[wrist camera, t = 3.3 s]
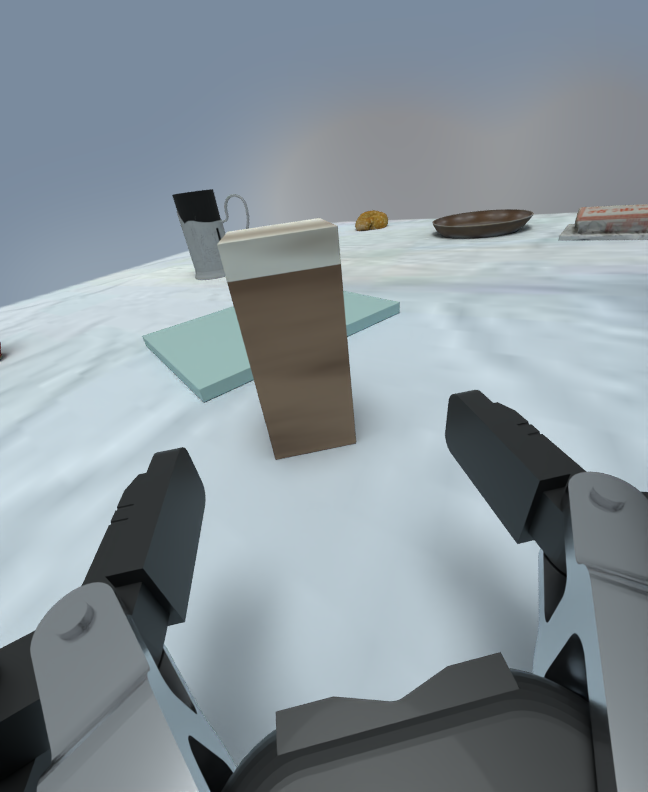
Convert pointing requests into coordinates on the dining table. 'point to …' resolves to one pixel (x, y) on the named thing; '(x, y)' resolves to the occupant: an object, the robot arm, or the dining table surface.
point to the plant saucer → (482, 223)
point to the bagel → (371, 220)
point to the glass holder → (203, 230)
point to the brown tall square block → (294, 331)
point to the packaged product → (609, 223)
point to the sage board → (237, 344)
